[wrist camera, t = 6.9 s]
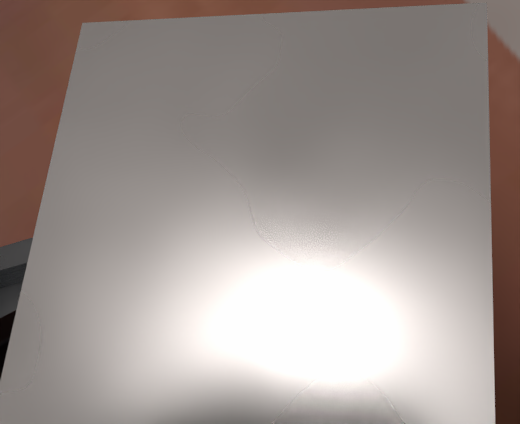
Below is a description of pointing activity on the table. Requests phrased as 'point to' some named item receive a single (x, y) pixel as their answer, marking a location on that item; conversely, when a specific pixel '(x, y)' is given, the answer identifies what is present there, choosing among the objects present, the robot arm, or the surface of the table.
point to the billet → (265, 225)
